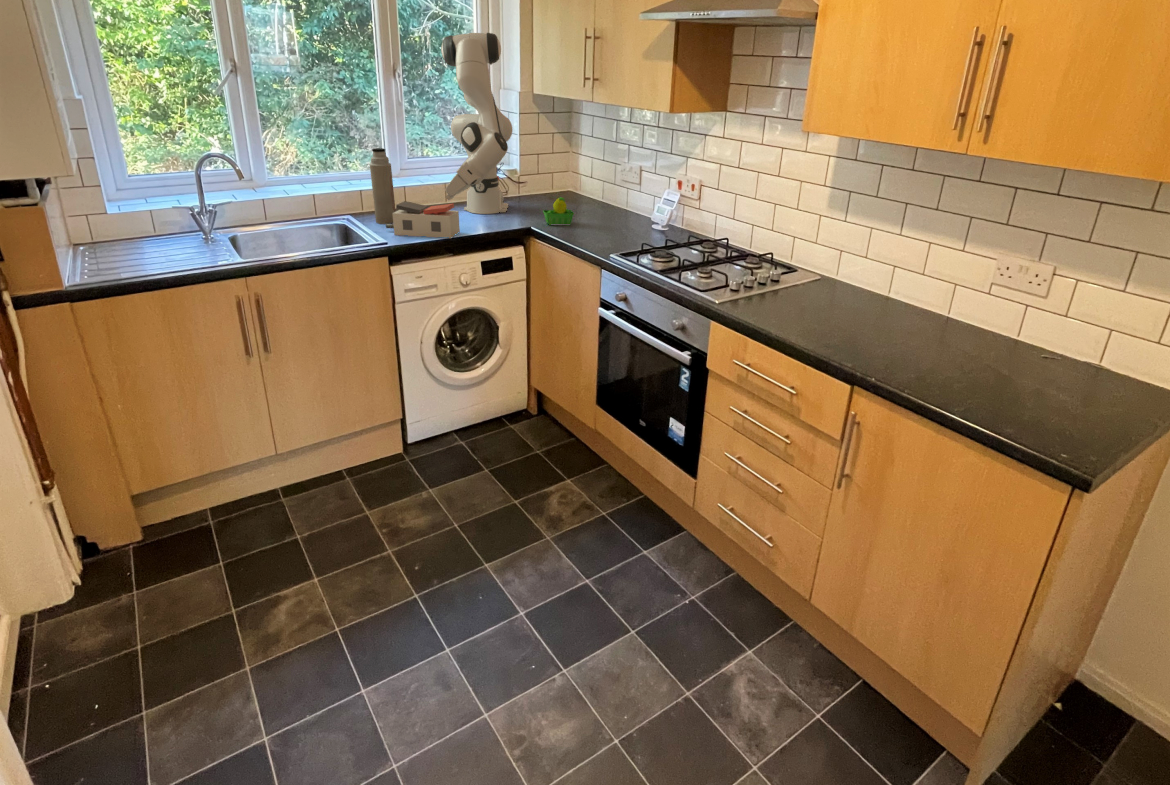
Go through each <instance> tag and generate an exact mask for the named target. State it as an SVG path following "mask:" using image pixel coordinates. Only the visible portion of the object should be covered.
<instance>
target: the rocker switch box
mask: <svg viewBox="0 0 1170 785" xmlns="http://www.w3.org/2000/svg"><path fill="white" fill-rule="evenodd" d="M395 211H396V212H394V213H392V214H393V223H392V224H385V229H393V232H394V236H404V235H408V236H407V237H421V236H426V238H438V237H449V238H448V239H452V238H454V237H455V236H456V235H455V234H457V233H458V232H459V233H460V232H461V231H460V213H459V210H451V209H450V210H449V211H447V212H440V213H438V214H434V213H431V214H424V212H422V213H420V214H417V213H413V212H410V213H407V212H406V211H404V210H399V209H397V210H395ZM459 233H458V234H459ZM458 234H457V235H458ZM454 235H455V236H454ZM453 236H454V237H453ZM451 237H452V238H451Z"/></svg>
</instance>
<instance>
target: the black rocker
mask: <svg viewBox="0 0 1170 785" xmlns="http://www.w3.org/2000/svg"><path fill="white" fill-rule="evenodd" d="M427 208H429V207H428V205H424V204H421V203H416V202H410V201H407V200H403V201H402V202H399V203H398V204H395V210H404V211H406V212H407V213H410V212H413V213H417V214H420V213H422V212H424V211H423V210H425V209H427Z"/></svg>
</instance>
